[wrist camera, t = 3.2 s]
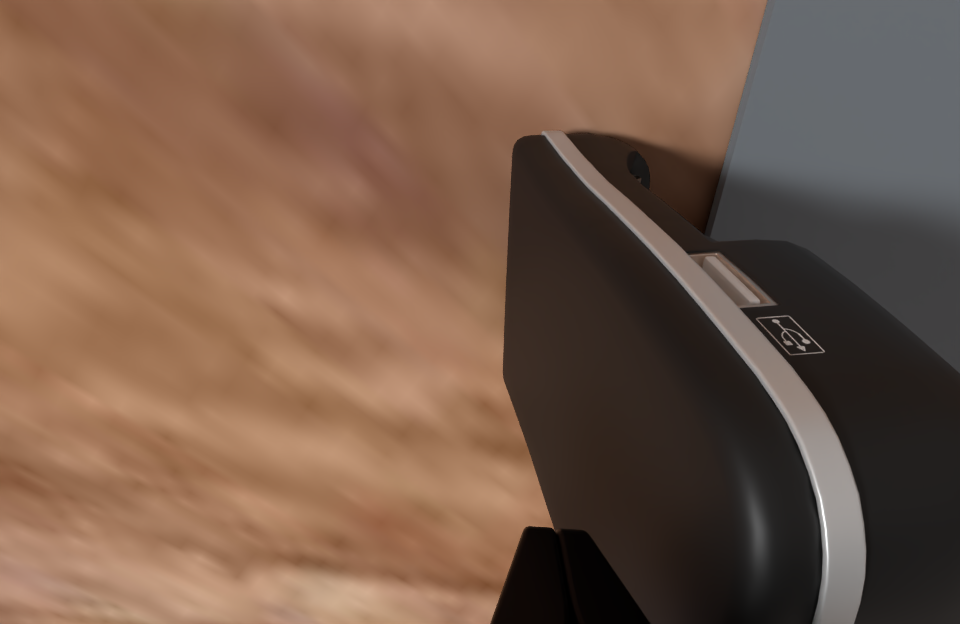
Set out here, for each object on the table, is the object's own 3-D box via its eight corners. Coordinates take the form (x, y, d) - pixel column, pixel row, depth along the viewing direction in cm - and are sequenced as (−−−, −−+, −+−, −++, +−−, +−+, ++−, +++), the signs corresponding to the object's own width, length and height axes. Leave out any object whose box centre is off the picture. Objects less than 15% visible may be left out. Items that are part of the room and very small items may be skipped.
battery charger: (634, 369, 20) (926, 837, 10) (498, 381, 19) (668, 891, 9) (674, 115, 16) (1184, 456, 6) (508, 119, 16) (799, 503, 6)
